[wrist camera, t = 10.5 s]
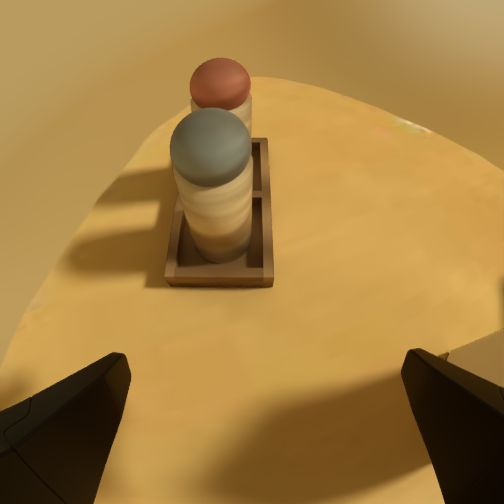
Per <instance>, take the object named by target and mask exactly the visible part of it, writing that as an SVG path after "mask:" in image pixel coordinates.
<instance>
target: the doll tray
mask: <svg viewBox="0 0 504 504" xmlns="http://www.w3.org/2000/svg"><path fill="white" fill-rule="evenodd" d="M251 143H252V150H251V155H252V158H253V183H252V224H251V243H250V246H249V248H248V250H247V251H246V253H245V254H244V255H243V256H242V257H240V258H239V259H237V260H235V261H233V262H230V263H224V264H218V263H213V262H210V261H207V260H206V259H204V258H203V257H201V256H200V254H199V253H198V252H197V250H196V248H195V245H194V242H193V239H192V235H191V232H190V229H189V226H188V222H187V219H186V216H185V212H184V209H183V205H182V202H181V199H180V195H179V192H178V196H177V201H176V206H175V211H174V217H173V222H172V228H171V234H170V240H169V247H168V253H167V260H166V267H165V274H164V277H165V279H166V280H167V282H168V283H169V285H170V286H191V287H273V281H274V260H273V235H272V213H271V193H270V174H269V156H268V140H267V138H251Z"/></svg>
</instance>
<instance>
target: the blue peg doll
mask: <svg viewBox="0 0 504 504" xmlns="http://www.w3.org/2000/svg"><path fill="white" fill-rule="evenodd" d="M251 150H252V143H251V137H250V134H249V131H248V129H247V127H246V126H245V124H244V123H243V122H242V120H241V119H240V118H239V117H237V116H236V115H234V114H233V113H231V112H229V111H227V110H224V109H220V108H203V109H200V110H197V111H194V112H192V113H190V114H189V115H187V116H186V117H185V118H183V119H182V120H181V121H180V123H179V124H178V125H177V127H176V128H175V130H174V132H173V134H172V137H171V141H170V156H171V160H172V163H173V174H174V177H175V181H176V185H177V188H178V192H179V195H180V199H181V202H182V205H183V209H184V212H185V216H186V219H187V222H188V226H189V229H190V232H191V235H192V239H193V242H194V245H195V248H196V250H197V252H198V253H199V254H200V256H201V257H203V258H204V259H206V260H207V261H210V262H213V263H218V264H224V263H230V262H233V261H235V260H237V259H239V258H240V257H242V256H243V255H244V254H245V253H246V251H247V250H248V248H249V246H250V243H251V224H252V183H253V158H252V155H251Z"/></svg>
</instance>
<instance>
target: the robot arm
mask: <svg viewBox="0 0 504 504" xmlns="http://www.w3.org/2000/svg"><path fill="white" fill-rule="evenodd" d="M401 375H402V379H403V382H404V385H405V389H406V392H407V395H408V399H409V402H410V406H411V409H412V412H413V415H414V417H415V420H416V422H417V425H418V427H419V430H420V432H421V435H422V437H423V440H424V443H425V445H426V448H427V451H428V453H429V456H430V459H431V462H432V465H433V468H434V470H435V473H436V476H437V479H438V483H439V486H440V489H441V492H442V495H443V498H444V502H445V504H504V388H503V387H501V386H498V385H497V384H494V383H492V382H490V381H488V380H486V379H484V378H482V377H479V376H477V375H475V374H473V373H471V372H469V371H467V370H465V369H462V368H460V367H458V366H456V365H454V364H452V363H450V362H448V361H446V360H444V359H441V358H439V357H437V356H435V355H433V354H431V353H429V352H427V351H425V350H423V349H421V348H416V349H410V350H409V351H408V352H407V354H406V357H405V360H404V363H403V366H402V369H401ZM130 382H131V372H130V368H129V365H128V361H127V358H126V356H125V354H123V353H116V352H112V353H110V354H108V355H107V356H105V357H103V358H101V359H99V360H98V361H96V362H94V363H92V364H90V365H89V366H87V367H85V368H83V369H81V370H79V371H78V372H76V373H74V374H72V375H70V376H68V377H67V378H65V379H63V380H61V381H59V382H57V383H55V384H54V385H52V386H50V387H48V388H46V389H44V390H42V391H41V392H39V393H37V394H35V395H33V396H32V397H29V398H27V399H25V400H24V401H22V402H20V403H18V404H16V405H14V406H12V407H9V408H7V409H5V410H2V411H0V504H94V500H95V497H96V493H97V490H98V487H99V484H100V480H101V477H102V474H103V471H104V468H105V465H106V462H107V459H108V456H109V453H110V450H111V447H112V444H113V441H114V438H115V436H116V433H117V430H118V427H119V424H120V421H121V418H122V415H123V411H124V407H125V402H126V398H127V394H128V390H129V386H130Z"/></svg>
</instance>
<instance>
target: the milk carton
mask: <svg viewBox="0 0 504 504" xmlns="http://www.w3.org/2000/svg"><path fill="white" fill-rule="evenodd" d="M447 361H448V362H450V363H452V364H454V365H456V366H458V367H460V368H462V369H465V370H467V371H469V372H471V373H473V374H475V375H477V376H479V377H482V378H484V379H486V380H488V381H490V382H492V383H494V384H497V385H498V386H501V387H503V388H504V328H503V329H501V330H499V331H497V332H494V333H492V334H490V335H488V336H485V337H483V338H481V339H478V340H476V341H474V342H471V343H469V344H466V345H464V346H461V347H459V348H456V349H453V350H451V351H450V353H449V356H448V358H447Z"/></svg>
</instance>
